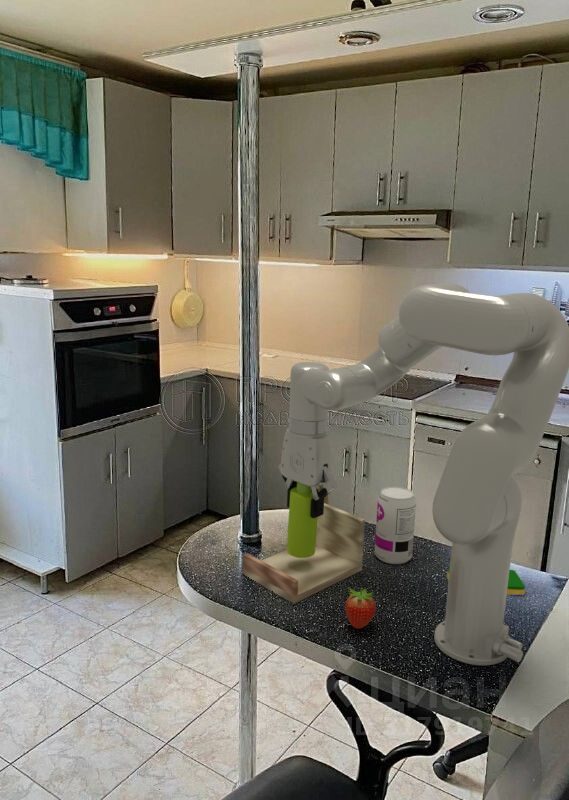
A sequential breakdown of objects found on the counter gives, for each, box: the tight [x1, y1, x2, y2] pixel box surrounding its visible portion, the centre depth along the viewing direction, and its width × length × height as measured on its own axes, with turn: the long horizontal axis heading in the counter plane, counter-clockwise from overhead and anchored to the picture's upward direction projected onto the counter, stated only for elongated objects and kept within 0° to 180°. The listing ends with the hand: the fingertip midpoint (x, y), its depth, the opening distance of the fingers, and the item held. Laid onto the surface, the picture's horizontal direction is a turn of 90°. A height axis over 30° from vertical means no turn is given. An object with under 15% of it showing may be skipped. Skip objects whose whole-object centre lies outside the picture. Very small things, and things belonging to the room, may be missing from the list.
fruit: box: [345, 587, 377, 630], centre depth 117 cm, size 5×5×8 cm
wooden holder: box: [242, 503, 366, 605], centre depth 136 cm, size 15×20×12 cm
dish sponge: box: [446, 567, 526, 595], centre depth 133 cm, size 7×14×2 cm, turn 89°
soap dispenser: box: [286, 482, 319, 558], centre depth 133 cm, size 6×7×20 cm
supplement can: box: [374, 486, 417, 565], centre depth 143 cm, size 8×8×15 cm
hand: (305, 510), depth 134 cm, fingers closed on soap dispenser, 6 cm apart
